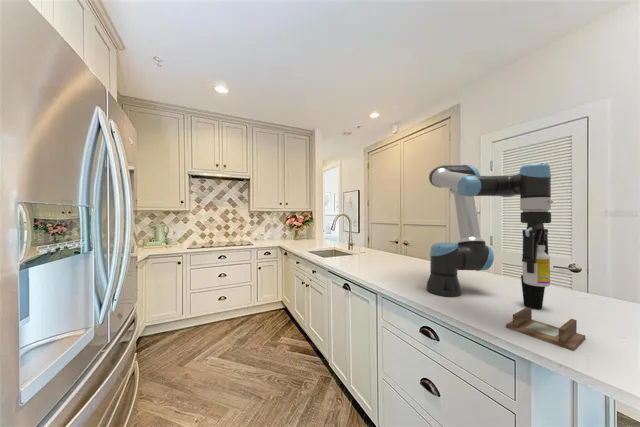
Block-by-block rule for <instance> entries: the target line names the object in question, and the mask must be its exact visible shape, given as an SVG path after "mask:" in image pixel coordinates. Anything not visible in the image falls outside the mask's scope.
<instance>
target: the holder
mask: <svg viewBox="0 0 640 427" xmlns="http://www.w3.org/2000/svg"><path fill="white" fill-rule="evenodd" d="M532 310H533V309H532V308H530V307H526V306H525V308H522V309H521V310H519V311H517V312H515V313H513V314H512V320H511V321H509V322H508V323H506V324H505V328H507V329H508V330H513V331H515V332H518V333H521V334H525V335H527V336H530V337H533V338H536V339H537V340H542V341H544V342H547V343H551V344H553V345H555V344H556V346H558V345H559V347H561V346H562V348H564V347H565V349H567V348H568V349H567V350H570V351H574V352H575V350H576V349H577V348H578V347H579V346H580V345H581V344H582V343H583V342H584V341H585V340H586V335H585V334H583V333H582V334H581V333H578V332H577V319H575V318H569V320H568V321H566V322H565V323H563V325H561V326H559V327H558V326H556V325H555V326H554V325H551V324H548V323H545V322H543V321H538V320H536V319H532V317H533V316H532V314H533V312H532Z"/></svg>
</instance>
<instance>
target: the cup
mask: <svg viewBox="0 0 640 427" xmlns="http://www.w3.org/2000/svg"><path fill="white" fill-rule="evenodd" d="M520 278H521V279H520V280H521V290H522V291H521V292H522V299H523V301H522V302H523V306H524V307H525V308H526V307H530V308H532V310H543V303H544V297H545V288H546V287H540V286H533V285H528V284H526V283H524V282H523V274H521V275H520Z"/></svg>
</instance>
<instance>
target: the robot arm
mask: <svg viewBox="0 0 640 427" xmlns="http://www.w3.org/2000/svg"><path fill="white" fill-rule="evenodd" d="M428 175H429V176H428V180H429V183H430V184H431V185H432V186H434V187H437V188H446V189H449V192H450V193H451V194H452V195H453V196H454V202H455V211H456V218H457V225H458V232H459V238H460V239H459V240H458V241H457V242H452V241H451V242H437V243H434V244H432V245H431V247H430V251H429V252H430V253H429V256H430V262H429V263H430V274H429V277H428V279H427V283H426V286H425V287H426V288H425V289H426V291H427V292H429V293H430V294H433V295H437V296H442V297H452V298H453V297H459V296H461V295H462V287H461V284H460V281H459V278H458V271H475V272H476V271H477V272H480V271H487V270H489V269H490V268H491V267H492V265H493V263H494V259H495V258H494V257H495V254H494V251H493V249H492V247H490V246H488V245H486V244H487V243H486V241H485V240H484V239H483V238H482V237H481V230H480V225H479V220H478V213H477V207H476V201H475V197H503V198H507V197H508V198H510V197H511V198H512V197H515V196H519V197H520V198H519V201H520V202H519V205H520V206H519V208H520V209H519V210H520V211H522V212H520V223H522V224H526V229H522V258H521V262H522V263H523V262H526V282H527V283H532V284H538V278H537V263H536V256H537V248H538V245H544V246H545V250H544V252H545V253H546V254H548V255H549V240H548V238H549V237H548V234H549V233H548V232H549V230H548V228H545V226H544V224H550V223H552V212H550V210H551V209H552V205H551V204H553V203H554V201H553V200H551V196H552V191H551V190H552V186H551V185H552V184H551V183H552V182H551V177H552V174H551V167H550V165H549V163H546V162H537V163H536V162H535V163H529V164H524V165H521V167H520V168H519V173H517V174H512V175H481V174H480V171H479V169H478V168H477V167H476V166H475V165H470V164H469V165H468V164H463V165H462V164H459V165H451V164H450V165H447V164H445V165H444V164H443V165H438V166H436V167H434V168H433V169H431V171H430V172H429V174H428Z"/></svg>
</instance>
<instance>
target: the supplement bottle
mask: <svg viewBox="0 0 640 427" xmlns="http://www.w3.org/2000/svg"><path fill="white" fill-rule="evenodd" d="M544 250H545V246H544V245H538V248H537V256H536V263H537V278H538V284H532V283H527V282H526V262H522V275H523V282H524V283H526V284H528V285H533V286H540V287H545V288H546V287H550V285H551V271H550V270H551V266H550V263H551V262H550V258H551V257H550V256H549V253H548V254H546V253H545V252H544Z"/></svg>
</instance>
